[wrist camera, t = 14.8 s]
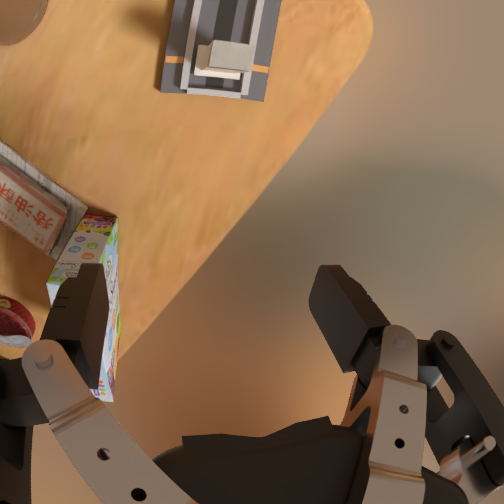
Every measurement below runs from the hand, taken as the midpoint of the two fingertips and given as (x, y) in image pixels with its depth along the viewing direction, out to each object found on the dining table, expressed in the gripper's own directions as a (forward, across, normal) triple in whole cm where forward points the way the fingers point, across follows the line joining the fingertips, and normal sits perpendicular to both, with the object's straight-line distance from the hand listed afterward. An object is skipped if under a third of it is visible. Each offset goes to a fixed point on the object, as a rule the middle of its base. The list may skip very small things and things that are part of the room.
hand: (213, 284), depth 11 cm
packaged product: (+29, +23, +8) cm, 37 cm away
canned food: (+28, +32, +30) cm, 52 cm away
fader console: (+28, -2, -16) cm, 32 cm away
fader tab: (+27, -2, -10) cm, 28 cm away
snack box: (+28, +12, +21) cm, 37 cm away
